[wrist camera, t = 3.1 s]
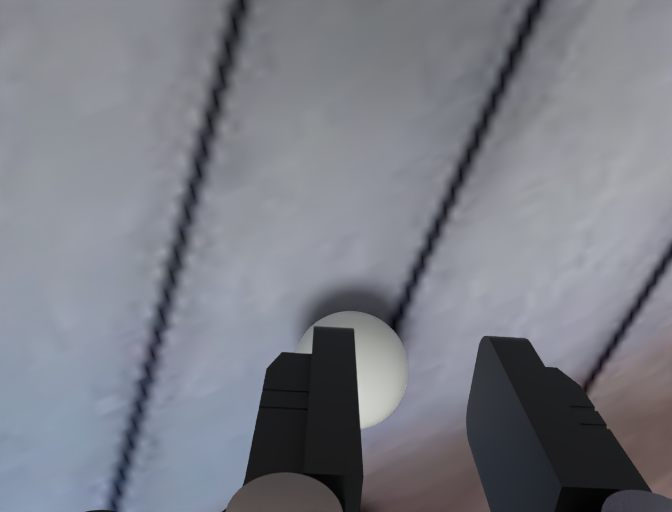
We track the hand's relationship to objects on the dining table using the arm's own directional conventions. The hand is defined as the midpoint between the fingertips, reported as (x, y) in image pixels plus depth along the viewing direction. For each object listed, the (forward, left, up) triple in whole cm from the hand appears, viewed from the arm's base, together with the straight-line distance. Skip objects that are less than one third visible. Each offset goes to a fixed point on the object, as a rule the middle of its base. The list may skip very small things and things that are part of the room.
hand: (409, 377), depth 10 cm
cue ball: (+9, 0, -14) cm, 17 cm away
